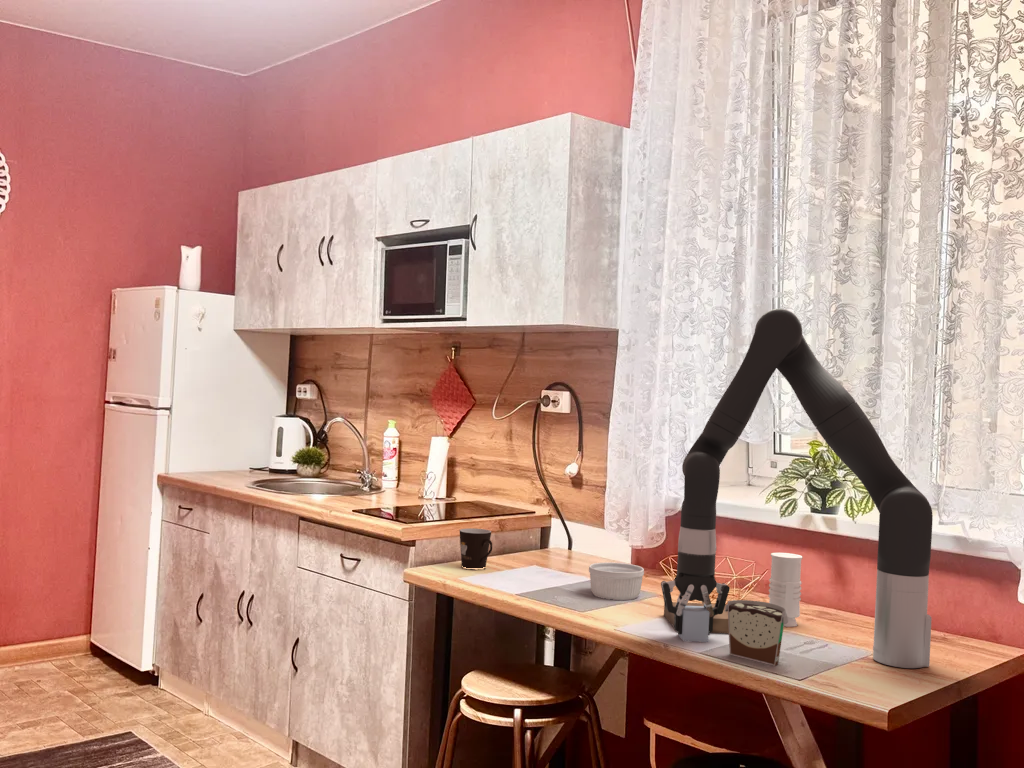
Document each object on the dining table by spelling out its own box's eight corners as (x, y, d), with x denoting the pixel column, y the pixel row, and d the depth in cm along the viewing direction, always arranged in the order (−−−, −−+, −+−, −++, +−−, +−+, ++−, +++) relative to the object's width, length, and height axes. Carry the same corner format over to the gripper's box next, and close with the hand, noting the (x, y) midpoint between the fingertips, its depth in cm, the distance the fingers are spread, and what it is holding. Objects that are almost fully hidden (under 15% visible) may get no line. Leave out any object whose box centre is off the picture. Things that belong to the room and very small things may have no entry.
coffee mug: (455, 564, 258) (457, 528, 259) (486, 565, 260) (488, 528, 260) (461, 573, 247) (463, 534, 247) (493, 573, 249) (495, 535, 249)
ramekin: (590, 600, 222) (592, 571, 222) (584, 588, 235) (586, 560, 235) (647, 603, 223) (648, 573, 223) (637, 591, 236) (639, 563, 236)
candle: (771, 626, 205) (775, 557, 205) (763, 618, 212) (766, 551, 212) (803, 628, 205) (807, 558, 205) (794, 620, 212) (797, 553, 212)
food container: (797, 661, 178) (800, 608, 178) (782, 667, 173) (785, 613, 173) (738, 647, 186) (740, 596, 186) (722, 652, 182) (725, 600, 182)
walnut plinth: (725, 617, 211) (726, 604, 211) (744, 634, 197) (744, 619, 197) (663, 615, 210) (664, 601, 210) (677, 631, 196) (678, 617, 196)
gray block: (701, 635, 194) (703, 606, 194) (708, 642, 189) (709, 612, 189) (677, 634, 194) (679, 605, 194) (683, 641, 189) (684, 611, 189)
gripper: (726, 548, 196) (722, 630, 196) (658, 545, 195) (654, 627, 195) (736, 554, 188) (732, 640, 188) (665, 551, 188) (661, 637, 187)
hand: (692, 633), depth 192 cm, fingers closed on gray block, 5 cm apart
